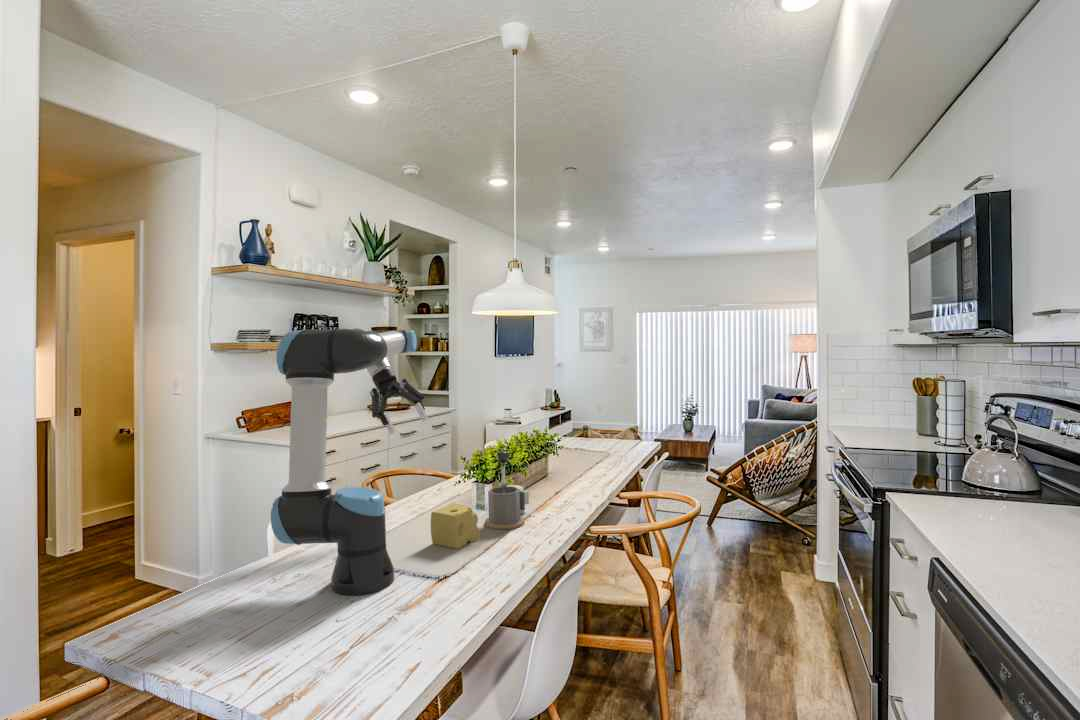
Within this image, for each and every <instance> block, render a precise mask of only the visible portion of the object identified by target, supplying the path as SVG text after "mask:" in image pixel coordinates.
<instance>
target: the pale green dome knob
mask: <svg viewBox="0 0 1080 720" xmlns="http://www.w3.org/2000/svg"><path fill="white" fill-rule="evenodd" d="M508 486H512V487H516V488H518V489H520V491H523V492H524V497H525V505H528V504H529V503H530V501H529V496H530V495H529V494H530V493H529V492H530V491H529V490H524V486H522V485H516V484H509V485H508ZM524 515H525V510H520V516H524Z"/></svg>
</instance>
